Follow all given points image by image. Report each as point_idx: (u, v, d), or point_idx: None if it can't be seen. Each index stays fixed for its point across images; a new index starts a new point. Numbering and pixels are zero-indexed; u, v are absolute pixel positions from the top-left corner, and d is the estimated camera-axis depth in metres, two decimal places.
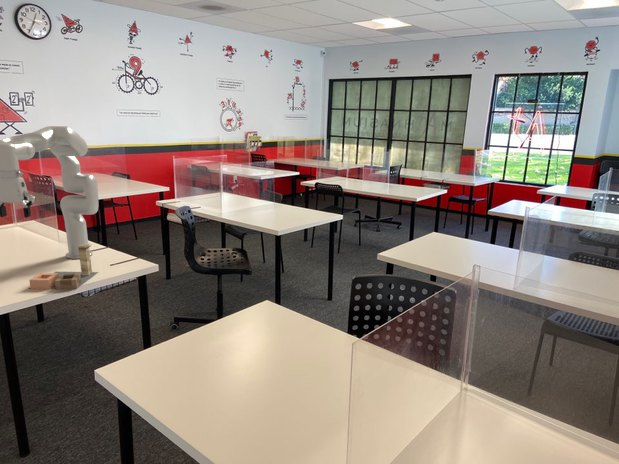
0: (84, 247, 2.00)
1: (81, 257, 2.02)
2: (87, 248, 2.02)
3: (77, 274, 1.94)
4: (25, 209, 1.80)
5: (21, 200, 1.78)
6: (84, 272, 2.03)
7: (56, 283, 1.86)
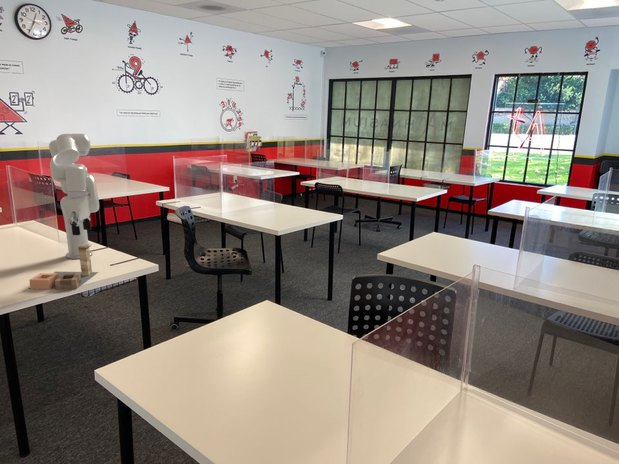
0: (84, 247, 2.00)
1: (81, 257, 2.02)
2: (87, 248, 2.02)
3: (77, 274, 1.94)
4: None
5: (89, 214, 2.02)
6: (84, 272, 2.03)
7: (56, 283, 1.86)
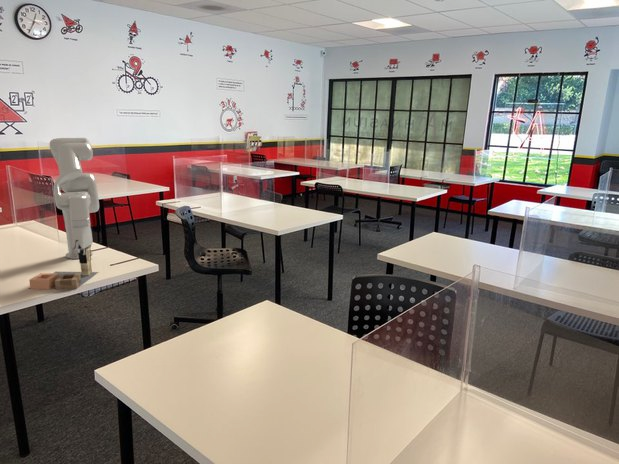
0: None
1: None
2: (87, 248, 2.02)
3: (77, 274, 1.94)
4: None
5: (92, 241, 2.06)
6: (84, 272, 2.03)
7: (56, 283, 1.86)
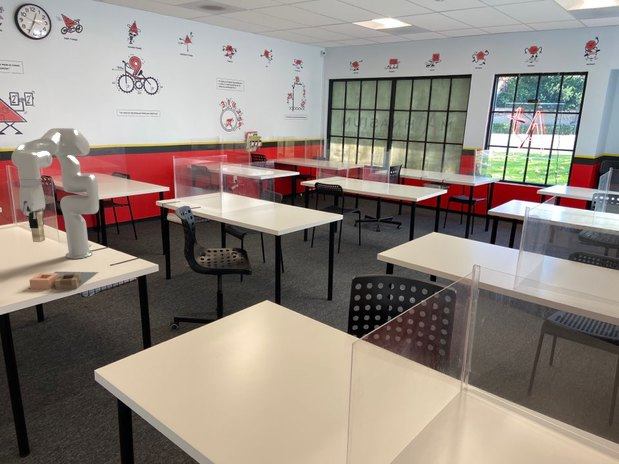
0: None
1: None
2: (38, 211, 1.83)
3: (77, 274, 1.94)
4: None
5: None
6: (35, 238, 1.84)
7: (56, 283, 1.86)
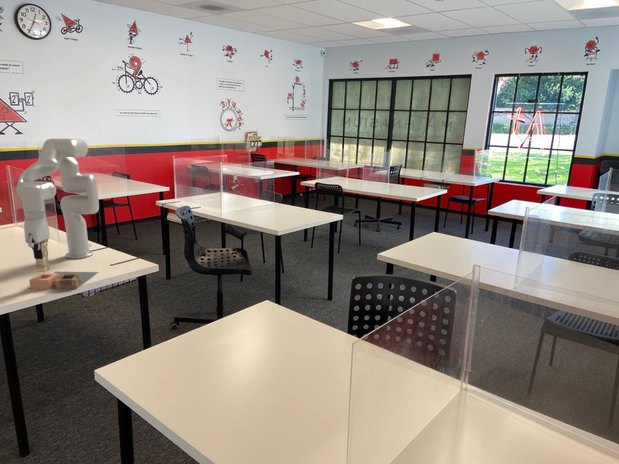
0: None
1: None
2: (43, 242, 1.87)
3: (77, 274, 1.94)
4: None
5: (49, 235, 1.91)
6: (39, 268, 1.88)
7: (56, 283, 1.86)
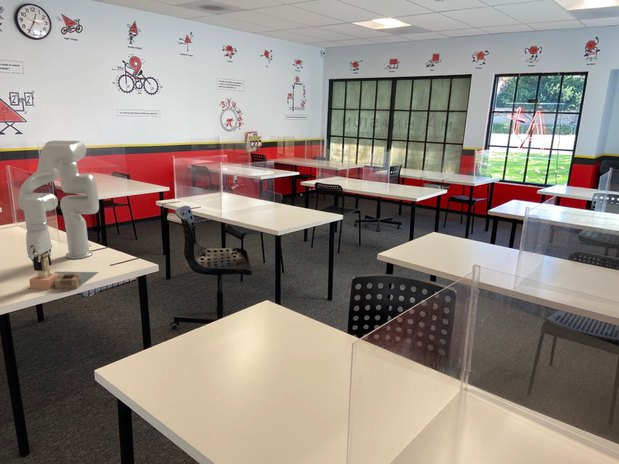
0: (42, 256, 1.87)
1: None
2: (45, 257, 1.89)
3: (77, 274, 1.94)
4: None
5: (51, 246, 1.92)
6: None
7: (56, 283, 1.86)
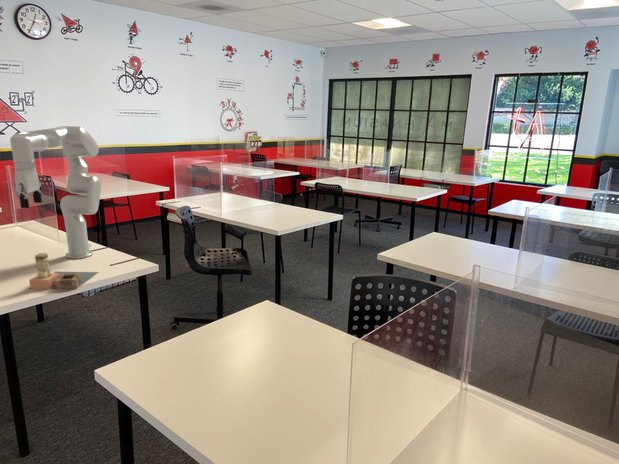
0: (41, 256, 1.87)
1: (38, 267, 1.88)
2: (45, 257, 1.88)
3: (77, 274, 1.94)
4: None
5: (39, 186, 1.96)
6: None
7: (56, 283, 1.86)
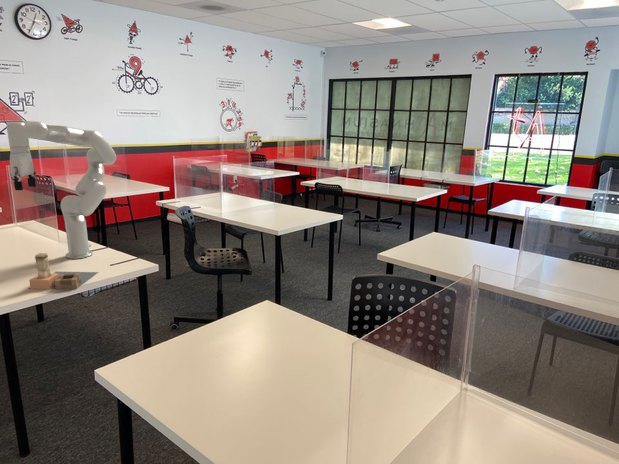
0: (41, 256, 1.87)
1: (38, 267, 1.88)
2: (45, 257, 1.88)
3: (77, 274, 1.94)
4: None
5: (33, 171, 2.07)
6: None
7: (56, 283, 1.86)
